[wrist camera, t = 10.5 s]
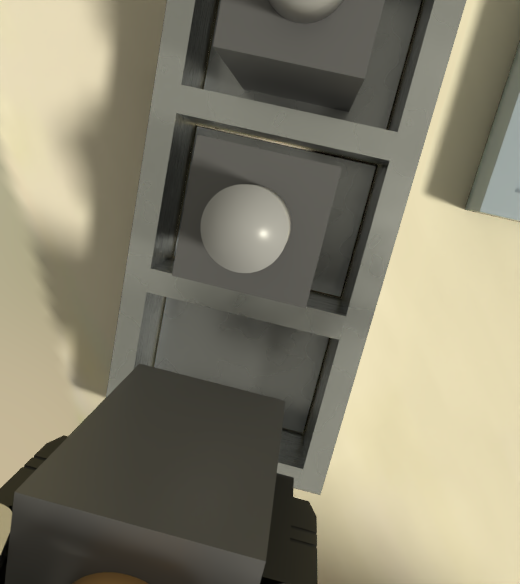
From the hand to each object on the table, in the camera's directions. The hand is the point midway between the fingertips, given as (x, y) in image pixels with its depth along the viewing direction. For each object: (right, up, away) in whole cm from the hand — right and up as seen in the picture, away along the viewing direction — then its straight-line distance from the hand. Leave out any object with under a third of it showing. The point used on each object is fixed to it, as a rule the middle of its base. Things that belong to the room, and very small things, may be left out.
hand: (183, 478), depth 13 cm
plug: (0, 0, +1) cm, 1 cm away
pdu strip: (+3, +9, +8) cm, 12 cm away
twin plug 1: (+4, +15, +6) cm, 17 cm away
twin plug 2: (+3, +9, +7) cm, 12 cm away
